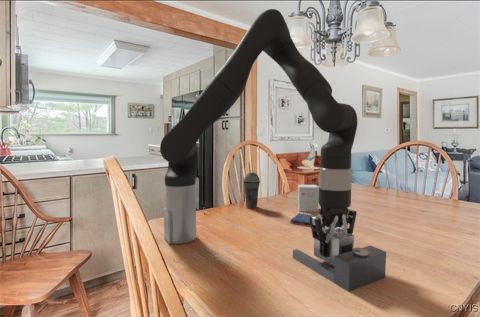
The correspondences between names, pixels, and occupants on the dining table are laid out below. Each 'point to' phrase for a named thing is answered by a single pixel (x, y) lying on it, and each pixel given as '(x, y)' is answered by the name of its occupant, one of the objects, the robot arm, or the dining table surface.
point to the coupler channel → (349, 267)
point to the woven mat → (301, 219)
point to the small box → (308, 198)
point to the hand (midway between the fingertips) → (332, 253)
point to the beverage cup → (251, 189)
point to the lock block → (335, 245)
